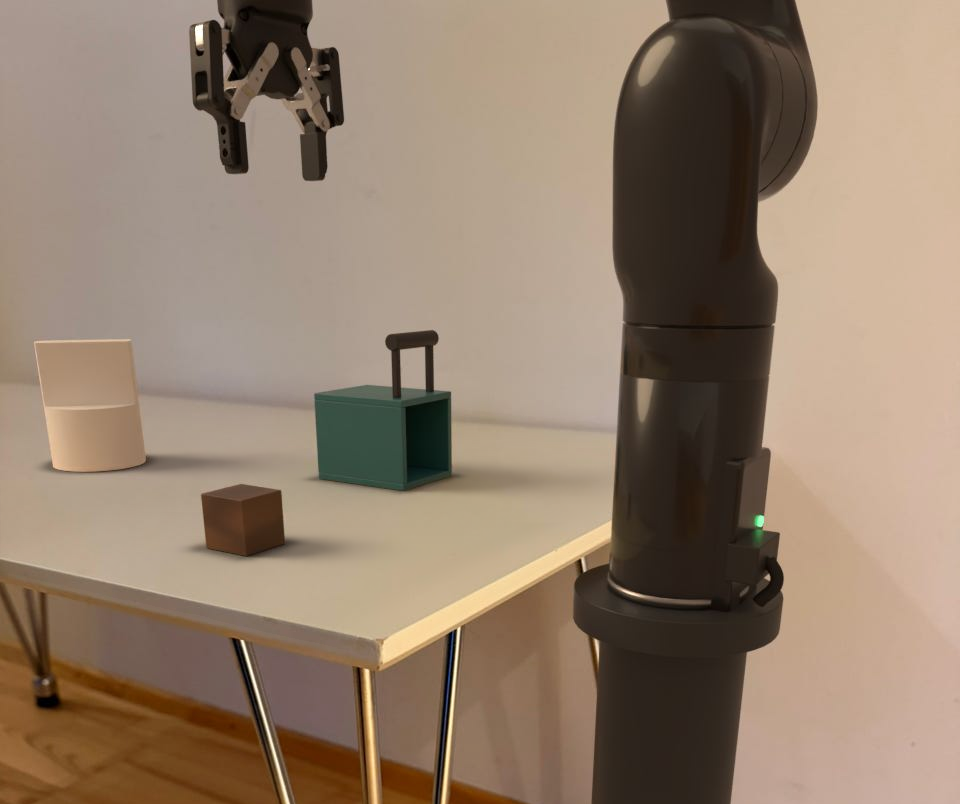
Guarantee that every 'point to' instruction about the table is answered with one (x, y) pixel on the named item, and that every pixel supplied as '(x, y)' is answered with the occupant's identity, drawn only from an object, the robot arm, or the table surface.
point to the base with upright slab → (91, 404)
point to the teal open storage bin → (387, 427)
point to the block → (243, 519)
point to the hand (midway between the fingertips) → (277, 177)
